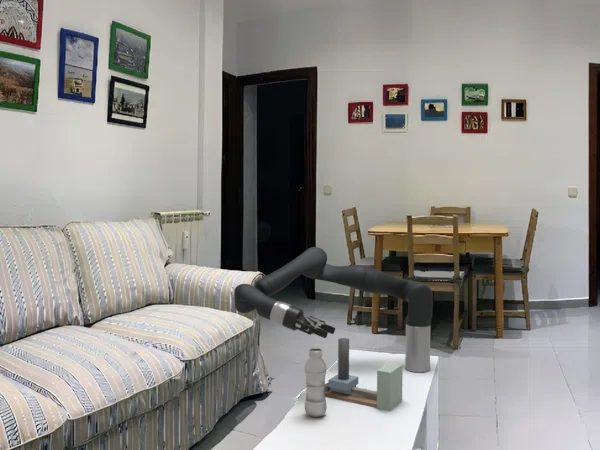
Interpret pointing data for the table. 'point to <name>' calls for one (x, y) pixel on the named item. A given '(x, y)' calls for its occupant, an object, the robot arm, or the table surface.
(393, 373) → the gauge cabinet
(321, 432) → the table surface
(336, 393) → the rail
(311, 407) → the plastic bottle
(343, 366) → the cylinder
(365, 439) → the table surface
